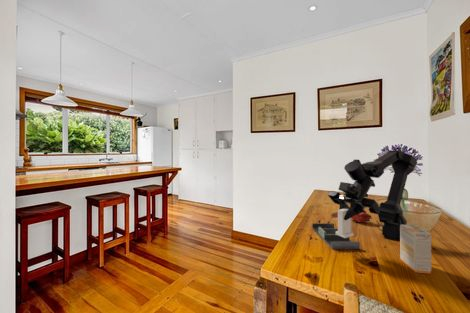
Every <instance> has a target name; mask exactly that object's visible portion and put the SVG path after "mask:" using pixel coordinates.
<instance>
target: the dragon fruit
mask: <svg viewBox="0 0 470 313" xmlns="http://www.w3.org/2000/svg"><path fill="white" fill-rule="evenodd" d="M364 211H365V212H364V213H363V212H362V213H359V214H357V215H355V216H353V217H351V220H352V219H353V221H354V222H358V223H360V224H365V222H370V220H373V217H372V216H371V214H369V213H367V212H368V211H366V210H364Z"/></svg>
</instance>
